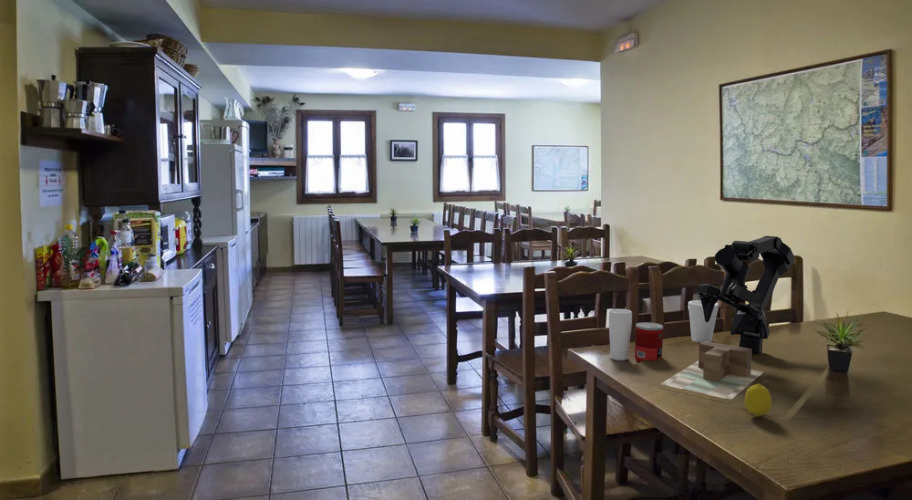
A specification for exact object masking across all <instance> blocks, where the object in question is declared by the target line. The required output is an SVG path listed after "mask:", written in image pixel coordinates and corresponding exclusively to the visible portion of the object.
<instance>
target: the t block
mask: <svg viewBox="0 0 912 500" xmlns="http://www.w3.org/2000/svg"><path fill="white" fill-rule="evenodd" d="M752 355H753V354H752V349H749V348H743V347H739V346H738V345H737V346H736V345H731V344H725V343H724V344H723V343H717V342H712V341H711V342H707V341H704V342H702V343H700V342H699V345H698V360H699V364H698V368H703V369H704V370H703V379H708V380H712V381H717V382H718V381H720V380H721V379H723V378H724V377H725V376H727V375H728V374H733V375H738V376H744V377H747V376H748V375H749V374H751V370H752V368H751V367H752Z"/></svg>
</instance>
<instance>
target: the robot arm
mask: <svg viewBox="0 0 912 500" xmlns="http://www.w3.org/2000/svg"><path fill="white" fill-rule="evenodd" d="M760 257H761V259H762V264H763V266H764V269H763V272H762V274H761V276H760V278H759V280H758V281H757V284H756V287H755V289H753V290H750V289H748V285H747V284H745V283H746V281H747V278H748V274H751V273H752V269H751V267H750V265H749V263H747V262H754V261H756V260H758V259H759V258H760ZM745 261H747V262H745ZM714 262H715V263H716V264H717V265H718V266H719V267H720V269H722V270H723V272H724V273H725V275H724V279H723V280H720V282H719V284H720V285H721V288H719V287H717V286H715V285H713V284H712V283H706V284H705V283H704V284H700V285H698V286H697V288H696V290H695V295H698V298H699V300H701V303H702V307H703V312H704V318H705V322H709V320H710V318H711V315H712V311H713V308H714V305H715V304H716V303H718V301H720V302H722V303H723V304H725V305H726V306H729V307H731V308H733V309H734V312H735V314H733V315H732V320H731V327H730V336H735V335H738V336H739V341H738V342H739V345H738V347H743V348H749V349H752V355H759V354H762V353H763V341H764V340H768V339H769V336H770V328H769V327H768V324H767V318H766V315H765V310H766V308H767V306H768V303H769V302H770V299H771V298H772V297H771V296H772V294H773V292H774V290H775V288H776V285H777V284H778V280H779V278H780V276H783V275H784V274H785V273H787V272H788V271H789V270H790V268H791V266H792V265H793V264H794V262H795V255H794V252H793V250H792V248H791V247H790V246H788V244H785V242H783V240H782V238H781V237H779V236H775V235H774V236H773V235H764V236H762V237H760V238H756V239H752V240H750V241H745V240H733V241H732V243H731V244H725V245H724V247H723V248H720V249H718V250H717V252H716V253H715V255H714ZM745 302H747V303H748V304H744V303H745Z"/></svg>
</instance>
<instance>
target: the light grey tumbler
mask: <svg viewBox="0 0 912 500" xmlns="http://www.w3.org/2000/svg"><path fill="white" fill-rule="evenodd" d="M632 321H633V311H631V310H630V309H625V308H612V309H610V310H609V313H608V329H609V330H608V331H609V332H608V333H609V334H608V336H609V351H610V353H609V357H610V358H611V360H614V361H619V362H622V361H623V362H624V361H627V360H628V359H629V349H630V342H631V341H630V340H631V333H632V324H633V322H632Z"/></svg>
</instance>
